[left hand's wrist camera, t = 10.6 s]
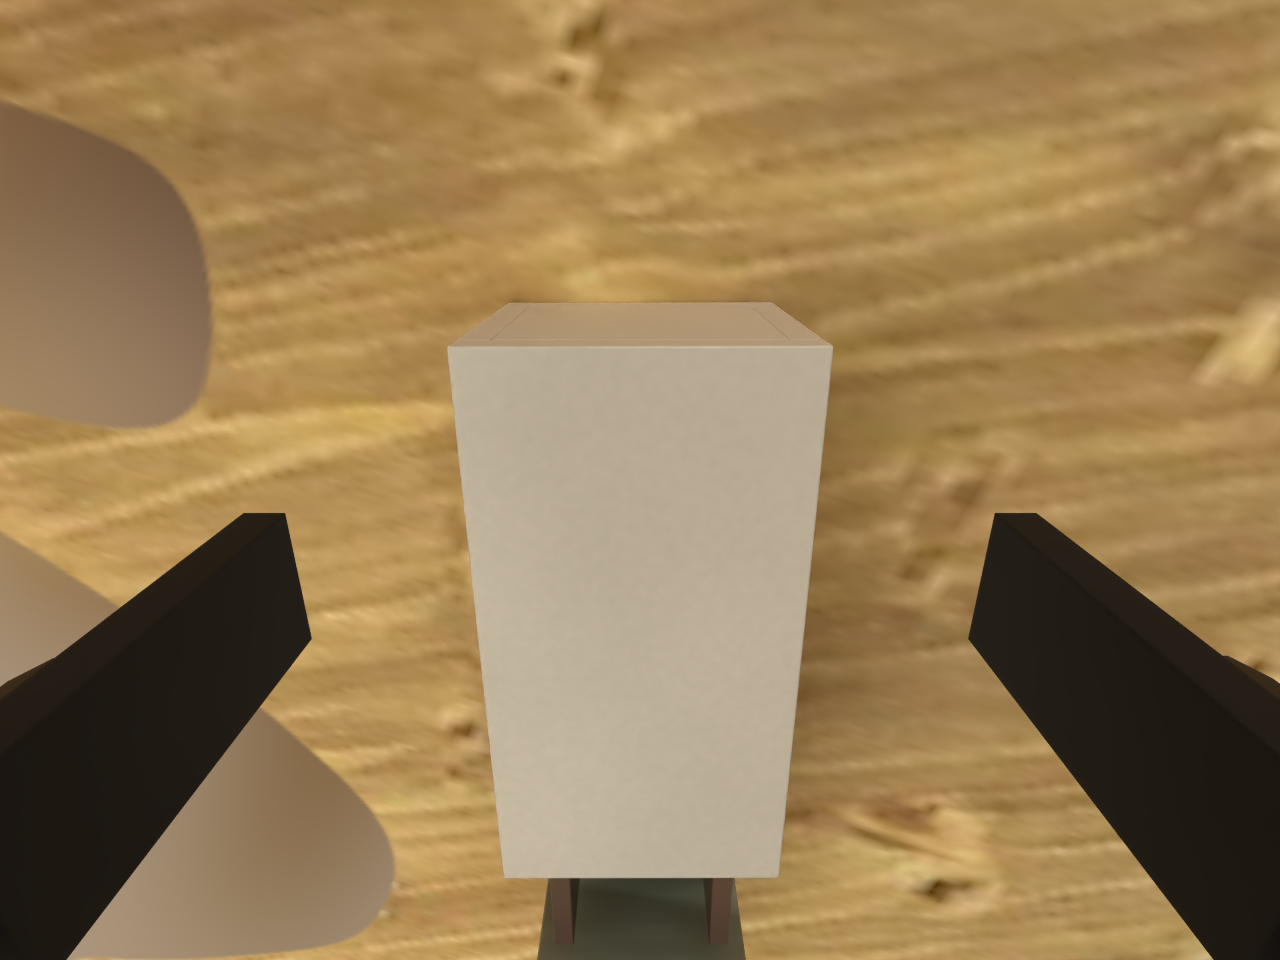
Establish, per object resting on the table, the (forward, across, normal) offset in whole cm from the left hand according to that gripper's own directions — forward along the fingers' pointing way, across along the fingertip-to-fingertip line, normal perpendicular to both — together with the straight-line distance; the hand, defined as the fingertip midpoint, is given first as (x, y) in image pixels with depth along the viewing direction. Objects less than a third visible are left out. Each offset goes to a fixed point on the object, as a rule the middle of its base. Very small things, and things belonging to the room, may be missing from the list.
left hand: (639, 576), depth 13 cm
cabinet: (+15, 0, -7) cm, 17 cm away
